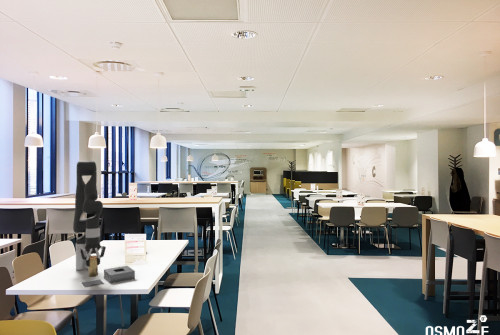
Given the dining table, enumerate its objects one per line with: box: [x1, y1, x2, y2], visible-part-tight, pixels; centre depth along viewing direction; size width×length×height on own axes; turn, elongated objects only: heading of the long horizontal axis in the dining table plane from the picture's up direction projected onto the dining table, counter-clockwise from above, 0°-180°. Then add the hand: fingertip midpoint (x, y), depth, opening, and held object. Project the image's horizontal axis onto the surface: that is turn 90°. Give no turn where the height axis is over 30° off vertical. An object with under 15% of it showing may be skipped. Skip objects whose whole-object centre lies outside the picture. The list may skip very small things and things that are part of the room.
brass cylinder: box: [88, 255, 99, 278], centre depth 204 cm, size 5×5×11 cm
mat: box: [81, 278, 105, 288], centre depth 204 cm, size 10×10×1 cm
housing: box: [103, 265, 136, 284], centre depth 214 cm, size 14×14×5 cm
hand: (92, 265), depth 204 cm, fingers closed on brass cylinder, 5 cm apart
